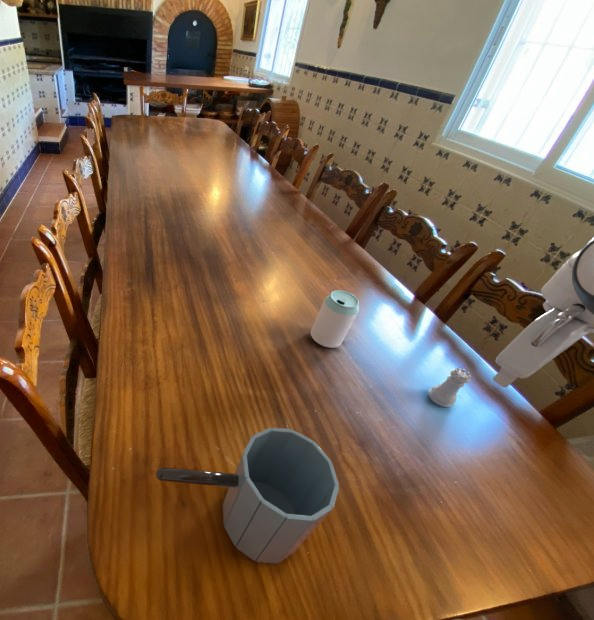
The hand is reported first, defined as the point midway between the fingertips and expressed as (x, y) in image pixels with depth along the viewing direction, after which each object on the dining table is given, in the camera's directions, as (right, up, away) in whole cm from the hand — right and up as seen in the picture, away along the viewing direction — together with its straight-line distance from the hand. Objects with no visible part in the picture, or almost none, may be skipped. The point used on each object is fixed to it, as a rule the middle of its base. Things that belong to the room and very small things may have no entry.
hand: (515, 371), depth 52 cm
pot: (-43, -21, 0) cm, 47 cm away
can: (-15, +2, +31) cm, 34 cm away
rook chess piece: (+3, -9, +19) cm, 22 cm away
